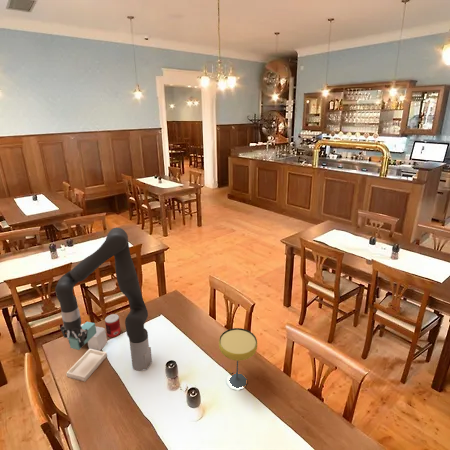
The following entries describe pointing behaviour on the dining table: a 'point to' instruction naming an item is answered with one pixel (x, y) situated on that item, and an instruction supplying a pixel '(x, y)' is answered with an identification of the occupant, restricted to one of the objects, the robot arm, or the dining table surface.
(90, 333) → the teal box
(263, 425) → the dining table surface
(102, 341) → the box
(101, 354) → the tray
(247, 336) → the cocktail glass
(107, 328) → the canned food
